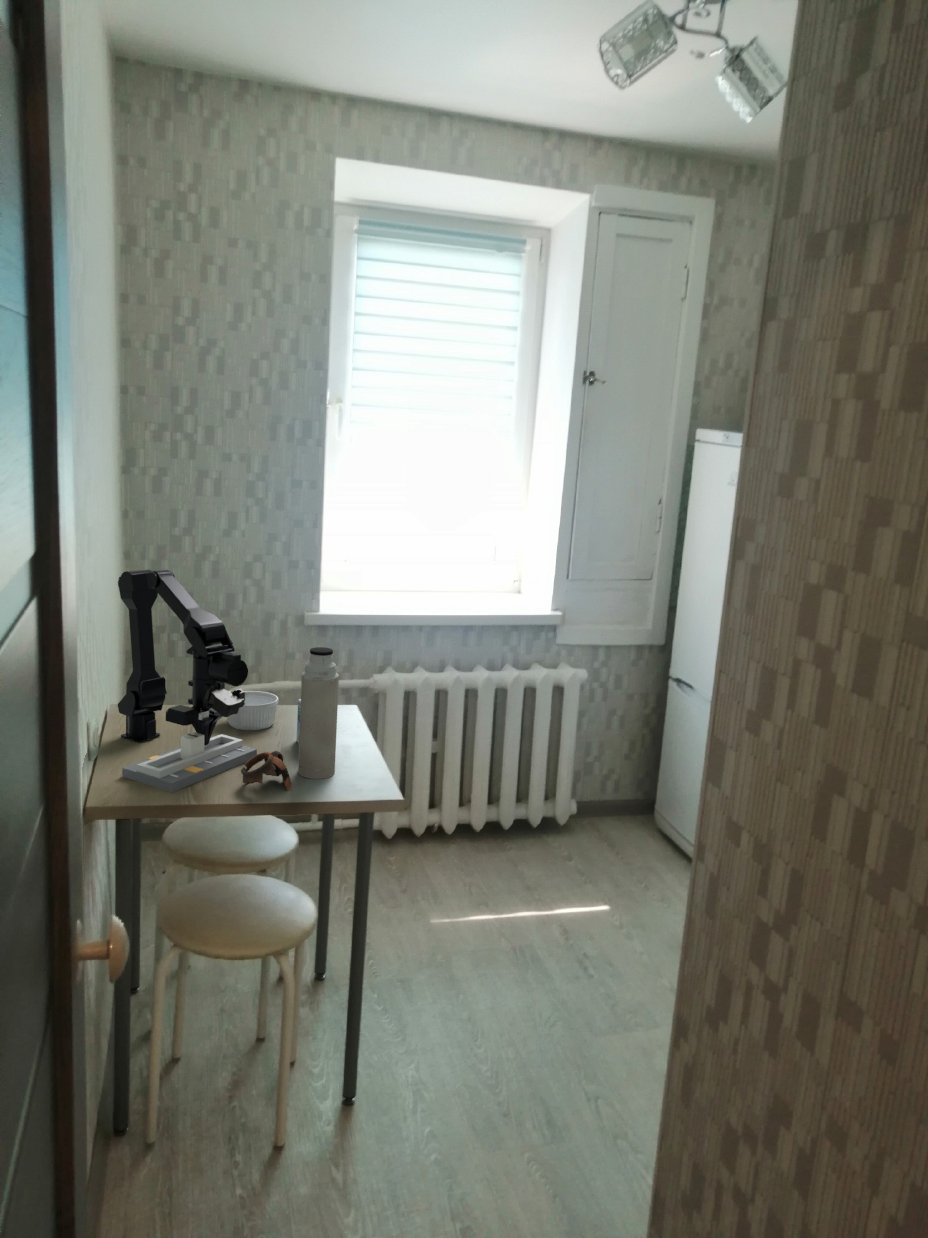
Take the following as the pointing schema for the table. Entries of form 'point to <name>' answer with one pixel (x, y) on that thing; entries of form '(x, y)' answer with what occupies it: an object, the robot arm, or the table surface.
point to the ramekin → (255, 711)
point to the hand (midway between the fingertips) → (205, 744)
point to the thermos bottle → (318, 715)
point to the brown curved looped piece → (266, 768)
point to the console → (189, 764)
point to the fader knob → (191, 745)
